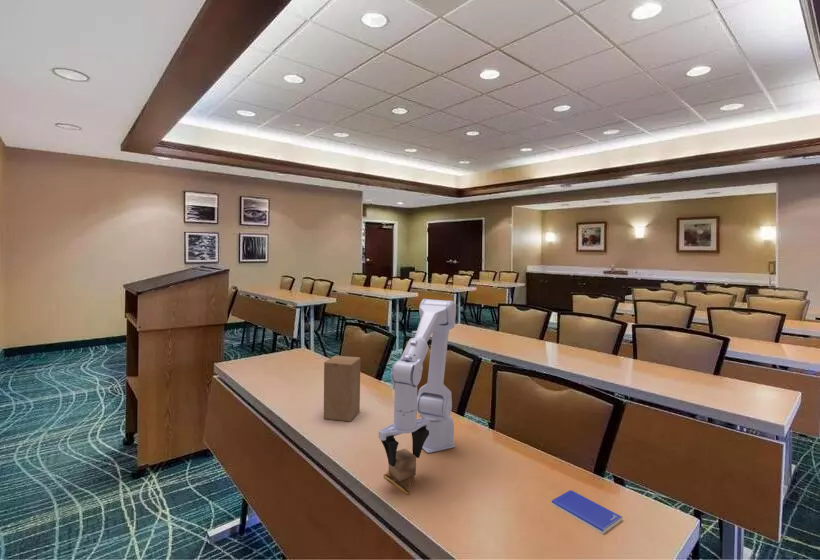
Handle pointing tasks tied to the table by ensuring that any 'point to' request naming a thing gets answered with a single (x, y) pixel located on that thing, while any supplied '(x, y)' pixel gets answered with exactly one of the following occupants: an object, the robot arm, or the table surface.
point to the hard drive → (587, 511)
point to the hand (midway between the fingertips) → (404, 460)
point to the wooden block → (341, 388)
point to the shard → (399, 482)
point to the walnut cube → (403, 465)
